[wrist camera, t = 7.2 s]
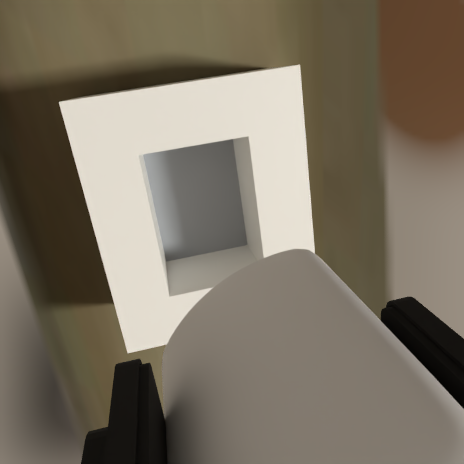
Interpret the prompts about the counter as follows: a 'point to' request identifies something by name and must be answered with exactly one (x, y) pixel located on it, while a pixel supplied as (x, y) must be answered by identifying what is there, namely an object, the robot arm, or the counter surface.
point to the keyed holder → (190, 187)
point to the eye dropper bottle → (299, 377)
